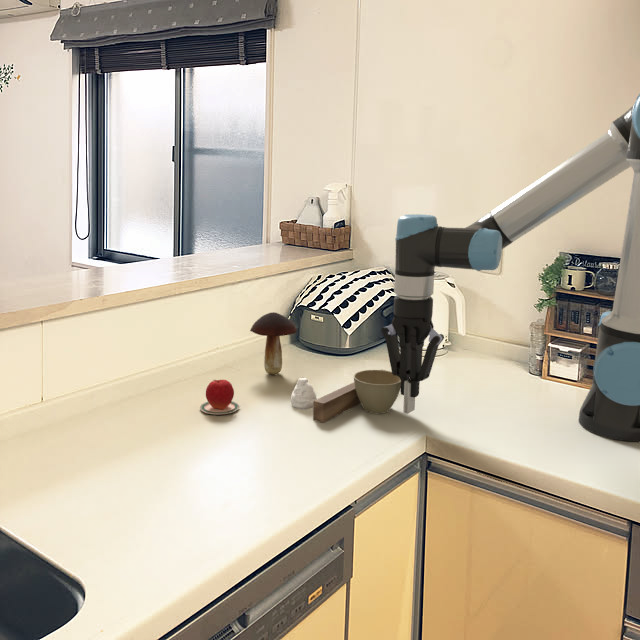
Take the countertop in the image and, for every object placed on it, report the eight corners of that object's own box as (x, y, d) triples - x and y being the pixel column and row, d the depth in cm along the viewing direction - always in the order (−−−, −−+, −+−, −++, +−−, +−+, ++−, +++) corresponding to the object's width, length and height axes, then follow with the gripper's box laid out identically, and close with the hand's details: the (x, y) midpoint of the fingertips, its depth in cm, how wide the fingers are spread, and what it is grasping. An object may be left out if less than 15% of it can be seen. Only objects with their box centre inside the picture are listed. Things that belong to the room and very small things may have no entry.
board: (389, 388, 159) (390, 371, 158) (323, 422, 138) (323, 403, 138) (380, 386, 160) (381, 369, 159) (313, 419, 140) (313, 400, 139)
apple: (193, 413, 142) (192, 382, 141) (210, 400, 150) (210, 371, 148) (229, 418, 140) (229, 387, 138) (245, 405, 147) (245, 375, 146)
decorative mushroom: (246, 369, 171) (245, 308, 167) (290, 365, 174) (290, 306, 170) (255, 383, 160) (255, 319, 157) (302, 379, 164) (303, 316, 160)
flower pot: (398, 420, 141) (400, 386, 139) (348, 415, 142) (350, 382, 141) (403, 403, 150) (404, 371, 148) (356, 399, 152) (357, 367, 150)
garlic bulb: (286, 379, 145) (298, 372, 150) (286, 407, 147) (297, 399, 151) (310, 383, 143) (321, 376, 148) (309, 411, 144) (321, 403, 149)
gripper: (452, 296, 136) (445, 412, 141) (394, 289, 143) (390, 399, 148) (434, 303, 130) (428, 423, 135) (375, 294, 137) (372, 409, 142)
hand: (408, 411), depth 142 cm, fingers closed
